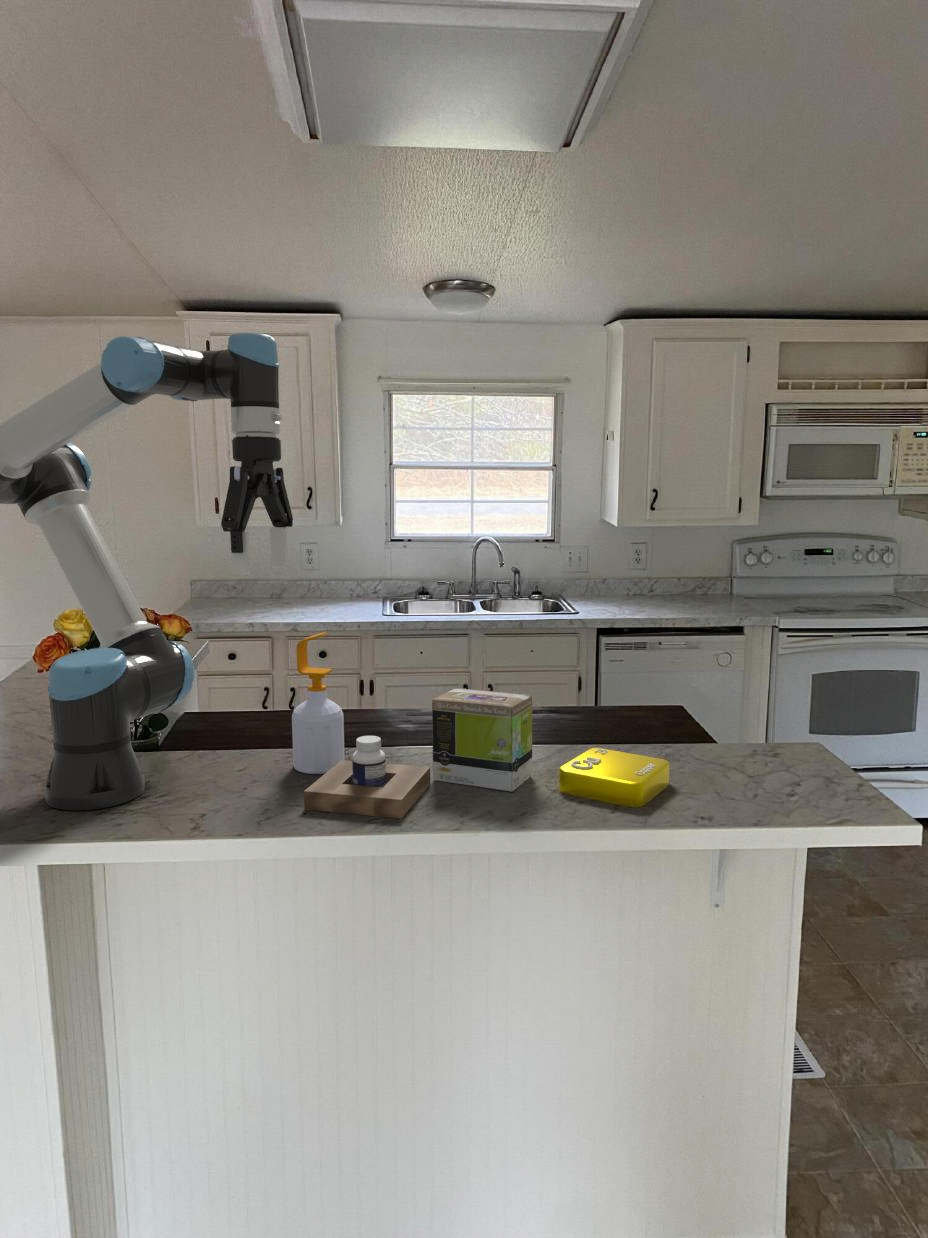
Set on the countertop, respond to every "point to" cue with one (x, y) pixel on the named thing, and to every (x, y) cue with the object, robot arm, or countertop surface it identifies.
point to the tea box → (482, 738)
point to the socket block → (368, 791)
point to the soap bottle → (316, 722)
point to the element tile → (614, 777)
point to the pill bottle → (369, 762)
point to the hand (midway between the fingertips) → (261, 570)
